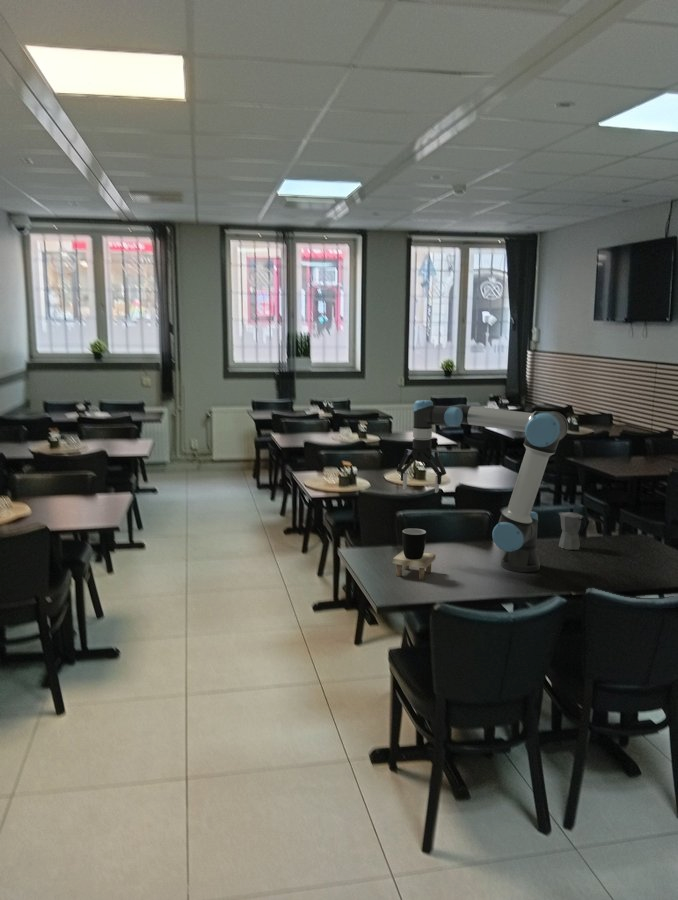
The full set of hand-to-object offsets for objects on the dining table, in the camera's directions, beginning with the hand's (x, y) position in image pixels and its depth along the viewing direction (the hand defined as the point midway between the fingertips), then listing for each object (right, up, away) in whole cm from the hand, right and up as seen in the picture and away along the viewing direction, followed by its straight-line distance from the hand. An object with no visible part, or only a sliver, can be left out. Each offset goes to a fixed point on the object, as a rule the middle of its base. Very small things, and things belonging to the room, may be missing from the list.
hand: (420, 490), depth 287 cm
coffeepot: (+69, -27, +23) cm, 77 cm away
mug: (-5, -24, -16) cm, 30 cm away
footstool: (-4, -31, -16) cm, 35 cm away
